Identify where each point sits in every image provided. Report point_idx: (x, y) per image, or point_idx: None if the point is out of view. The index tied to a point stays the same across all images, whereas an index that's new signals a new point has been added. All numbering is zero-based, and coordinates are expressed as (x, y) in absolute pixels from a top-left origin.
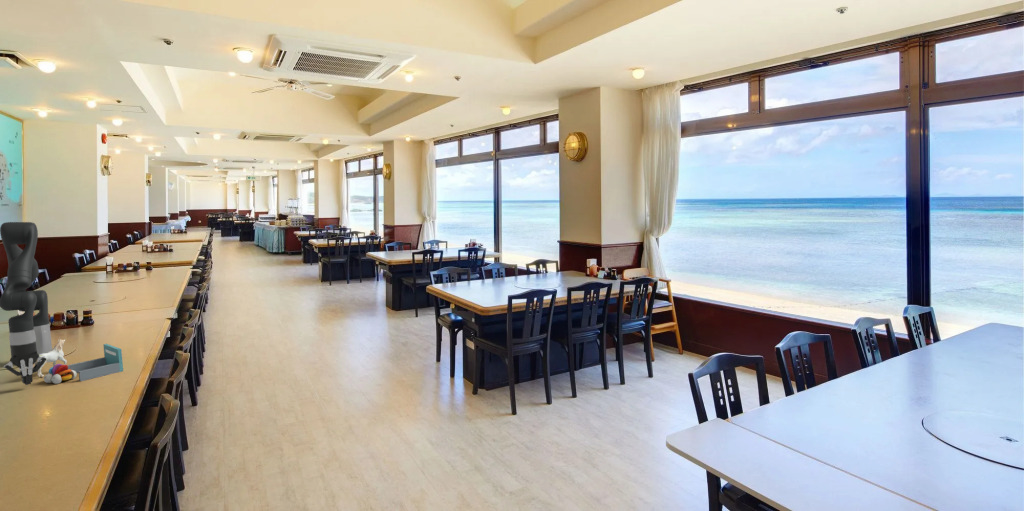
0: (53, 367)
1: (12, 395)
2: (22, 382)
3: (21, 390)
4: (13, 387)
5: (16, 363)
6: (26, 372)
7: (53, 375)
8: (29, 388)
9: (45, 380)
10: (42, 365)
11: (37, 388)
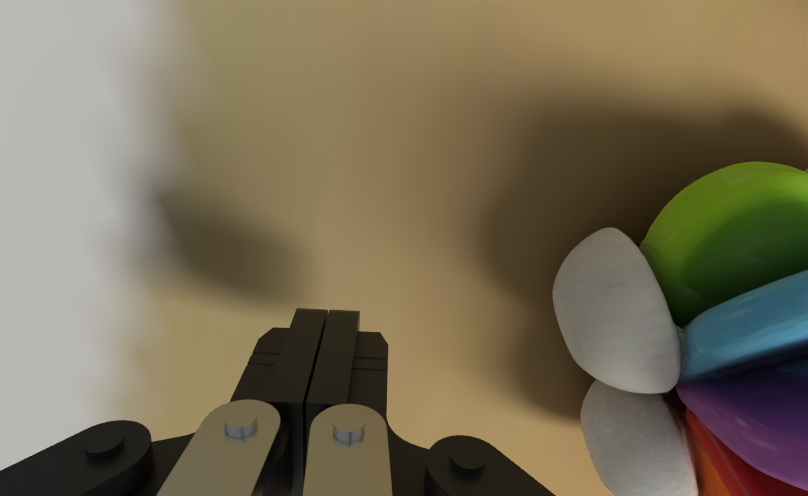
0: (801, 483)
1: (147, 419)
2: (264, 334)
3: (262, 309)
4: (222, 33)
5: None
6: (310, 441)
7: (677, 386)
8: (350, 308)
9: (560, 314)
10: None
11: (405, 391)
